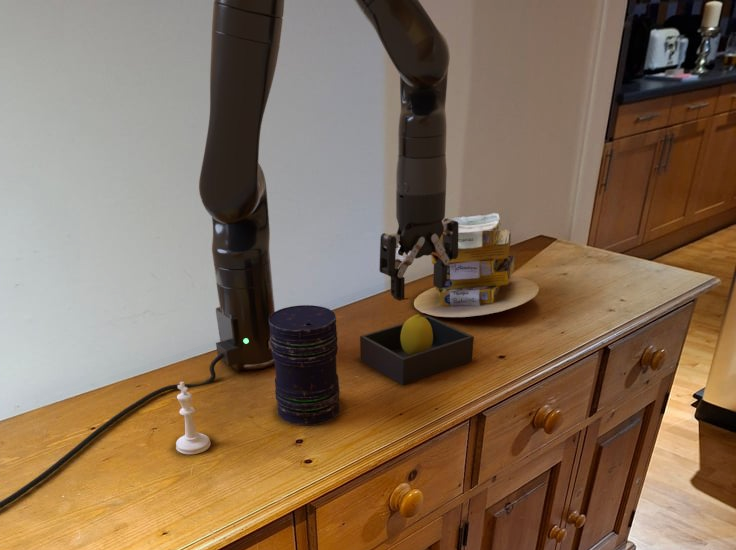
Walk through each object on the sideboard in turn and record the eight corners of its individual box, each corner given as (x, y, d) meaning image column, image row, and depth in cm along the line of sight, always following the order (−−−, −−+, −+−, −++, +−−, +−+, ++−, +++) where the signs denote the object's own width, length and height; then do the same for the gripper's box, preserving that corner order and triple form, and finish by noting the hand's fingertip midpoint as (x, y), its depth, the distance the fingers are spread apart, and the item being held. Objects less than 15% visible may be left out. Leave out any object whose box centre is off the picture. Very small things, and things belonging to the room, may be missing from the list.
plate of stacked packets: (393, 315, 140) (394, 228, 130) (441, 277, 158) (445, 198, 148) (513, 335, 131) (524, 243, 121) (550, 293, 148) (562, 209, 138)
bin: (402, 385, 116) (403, 359, 113) (360, 360, 124) (359, 335, 121) (472, 361, 122) (474, 336, 120) (427, 339, 130) (428, 315, 128)
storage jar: (269, 402, 112) (260, 310, 103) (328, 390, 115) (323, 300, 106) (287, 431, 104) (278, 335, 95) (349, 418, 107) (346, 324, 98)
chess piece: (195, 433, 105) (184, 371, 99) (217, 443, 102) (207, 380, 96) (169, 447, 102) (155, 384, 96) (191, 458, 99) (179, 394, 93)
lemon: (430, 366, 120) (432, 321, 115) (397, 364, 121) (398, 319, 116) (433, 353, 124) (435, 309, 120) (402, 351, 125) (403, 307, 121)
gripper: (441, 176, 112) (437, 278, 122) (368, 190, 106) (370, 296, 115) (473, 183, 107) (466, 289, 116) (398, 199, 101) (398, 309, 110)
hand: (418, 293), depth 116 cm, fingers open, 8 cm apart
